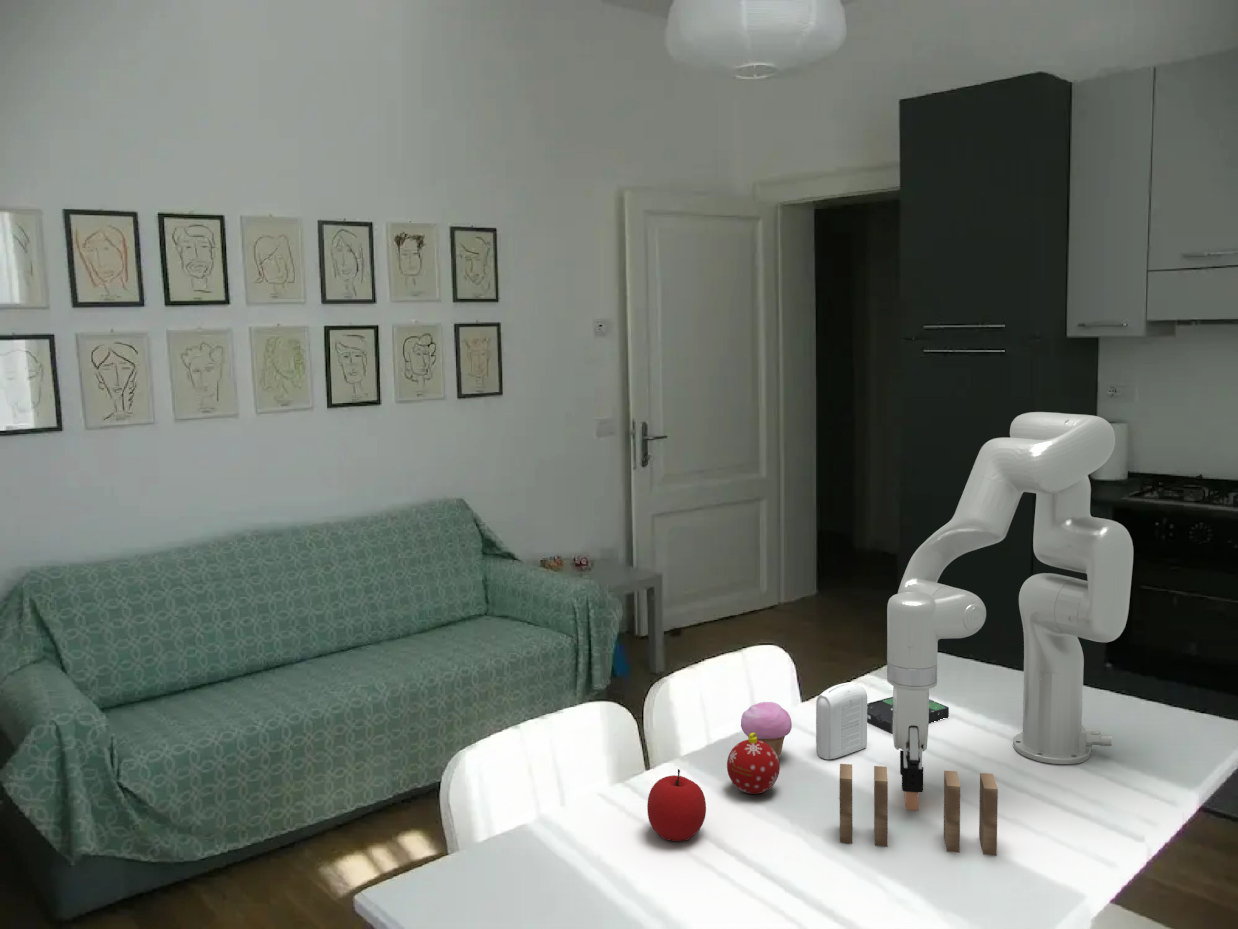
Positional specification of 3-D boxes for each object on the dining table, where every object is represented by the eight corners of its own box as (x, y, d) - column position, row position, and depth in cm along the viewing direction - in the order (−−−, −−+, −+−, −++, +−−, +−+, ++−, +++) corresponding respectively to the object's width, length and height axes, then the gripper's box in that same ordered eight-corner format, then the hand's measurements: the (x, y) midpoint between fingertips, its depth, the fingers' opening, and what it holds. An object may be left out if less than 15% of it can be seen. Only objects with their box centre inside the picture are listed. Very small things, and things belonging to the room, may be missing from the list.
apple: (637, 827, 153) (635, 765, 151) (689, 814, 156) (688, 754, 155) (663, 855, 144) (661, 790, 143) (718, 841, 148) (716, 777, 146)
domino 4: (956, 835, 147) (956, 771, 146) (959, 852, 142) (960, 786, 141) (943, 834, 147) (944, 770, 146) (946, 851, 143) (947, 785, 141)
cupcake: (790, 748, 179) (789, 695, 178) (793, 769, 171) (793, 713, 170) (740, 748, 180) (739, 695, 179) (741, 768, 172) (740, 713, 170)
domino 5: (991, 838, 146) (993, 773, 145) (996, 855, 141) (997, 789, 140) (979, 837, 146) (979, 773, 145) (983, 854, 141) (984, 788, 140)
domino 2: (886, 829, 149) (886, 766, 148) (887, 846, 144) (887, 781, 143) (874, 828, 150) (874, 766, 148) (874, 845, 145) (874, 780, 144)
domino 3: (916, 796, 160) (916, 736, 158) (918, 810, 155) (918, 749, 154) (904, 795, 160) (904, 736, 159) (906, 809, 155) (906, 748, 154)
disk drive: (893, 738, 184) (950, 720, 191) (893, 723, 184) (950, 706, 191) (854, 720, 193) (910, 703, 200) (854, 706, 193) (910, 690, 200)
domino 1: (852, 827, 150) (852, 764, 149) (852, 843, 146) (852, 779, 144) (840, 826, 151) (840, 763, 150) (839, 842, 146) (839, 778, 145)
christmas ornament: (716, 789, 164) (715, 732, 163) (754, 774, 169) (753, 718, 168) (752, 808, 157) (751, 748, 156) (790, 792, 162) (790, 734, 161)
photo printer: (853, 740, 182) (852, 675, 180) (870, 748, 178) (870, 682, 177) (812, 755, 176) (811, 688, 175) (829, 763, 173) (829, 695, 171)
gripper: (885, 654, 164) (885, 759, 166) (888, 690, 147) (888, 806, 150) (933, 656, 162) (932, 762, 164) (941, 693, 146) (940, 810, 148)
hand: (911, 782), depth 157 cm, fingers closed on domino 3, 4 cm apart
